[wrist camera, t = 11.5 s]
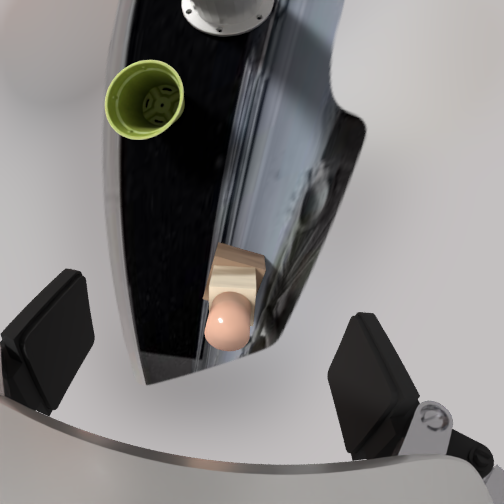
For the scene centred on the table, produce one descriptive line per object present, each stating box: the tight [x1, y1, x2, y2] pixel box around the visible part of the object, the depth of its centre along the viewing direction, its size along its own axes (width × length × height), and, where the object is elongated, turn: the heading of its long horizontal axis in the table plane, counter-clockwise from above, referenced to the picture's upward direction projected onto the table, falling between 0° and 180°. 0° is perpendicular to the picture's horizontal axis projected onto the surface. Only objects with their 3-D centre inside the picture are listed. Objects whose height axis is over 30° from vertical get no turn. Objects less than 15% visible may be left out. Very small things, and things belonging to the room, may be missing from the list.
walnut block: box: [203, 242, 266, 301], centre depth 42 cm, size 7×7×5 cm
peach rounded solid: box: [205, 291, 251, 351], centre depth 33 cm, size 5×5×5 cm
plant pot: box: [105, 60, 184, 140], centre depth 31 cm, size 9×9×9 cm
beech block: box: [209, 265, 256, 326], centre depth 38 cm, size 6×6×6 cm
